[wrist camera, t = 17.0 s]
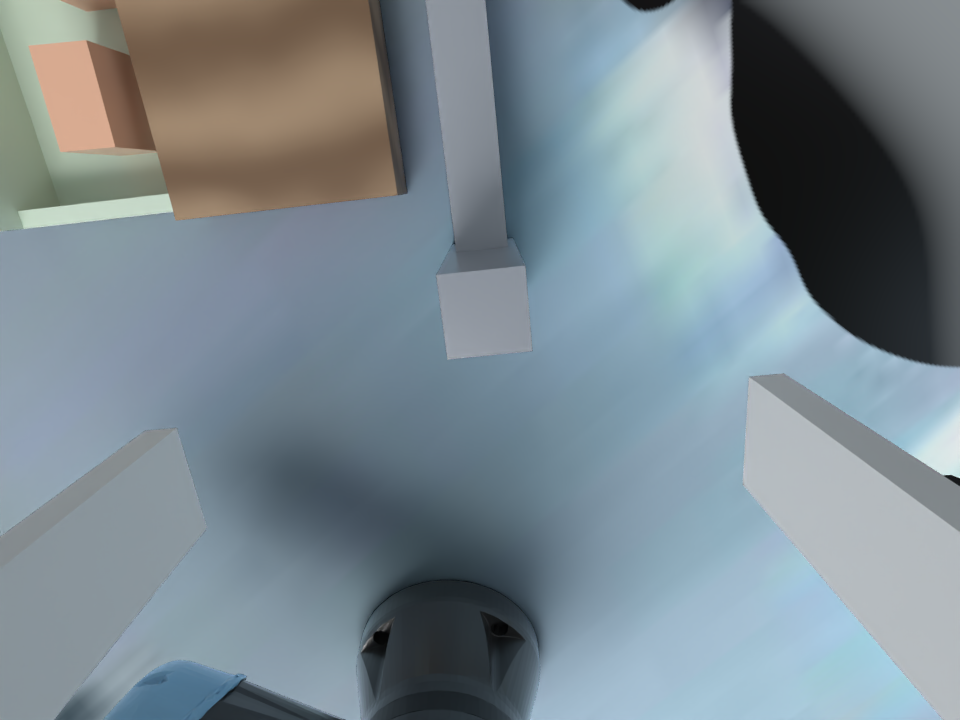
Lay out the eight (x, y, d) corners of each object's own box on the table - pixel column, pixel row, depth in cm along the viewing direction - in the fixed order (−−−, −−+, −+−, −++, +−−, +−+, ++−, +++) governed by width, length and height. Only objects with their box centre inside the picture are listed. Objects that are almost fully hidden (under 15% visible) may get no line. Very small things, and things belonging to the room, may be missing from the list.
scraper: (518, 297, 37) (532, 350, 25) (459, 303, 37) (447, 359, 25) (479, -140, 29) (475, -345, 18) (406, -130, 29) (355, -326, 18)
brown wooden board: (407, 193, 35) (397, 195, 31) (209, 216, 35) (175, 220, 31) (359, -135, 29) (340, -181, 25) (127, -102, 30) (75, -142, 26)
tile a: (115, 147, 29) (60, 152, 29) (168, 151, 33) (120, 155, 33) (86, 40, 27) (28, 45, 27) (146, 61, 32) (96, 65, 32)
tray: (207, 208, 35) (153, 213, 29) (59, 225, 35) (-24, 233, 30) (118, -135, 29) (30, -211, 24) (-57, -110, 30) (-186, -178, 24)
